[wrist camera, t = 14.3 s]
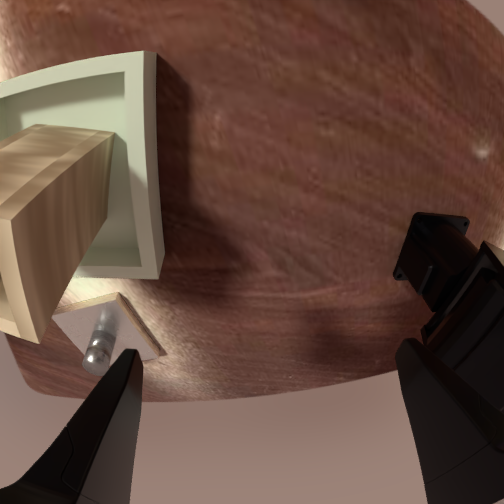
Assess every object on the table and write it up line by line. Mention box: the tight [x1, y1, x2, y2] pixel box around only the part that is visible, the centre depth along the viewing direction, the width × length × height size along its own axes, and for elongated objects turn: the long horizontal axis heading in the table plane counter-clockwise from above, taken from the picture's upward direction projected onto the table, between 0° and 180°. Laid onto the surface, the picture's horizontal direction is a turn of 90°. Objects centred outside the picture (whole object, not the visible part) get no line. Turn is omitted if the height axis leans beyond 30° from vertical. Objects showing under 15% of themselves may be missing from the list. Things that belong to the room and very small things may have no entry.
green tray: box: [0, 51, 165, 279], centre depth 17 cm, size 12×14×3 cm
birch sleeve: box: [0, 124, 115, 344], centre depth 13 cm, size 8×6×11 cm
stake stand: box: [52, 292, 160, 376], centre depth 25 cm, size 8×8×4 cm
